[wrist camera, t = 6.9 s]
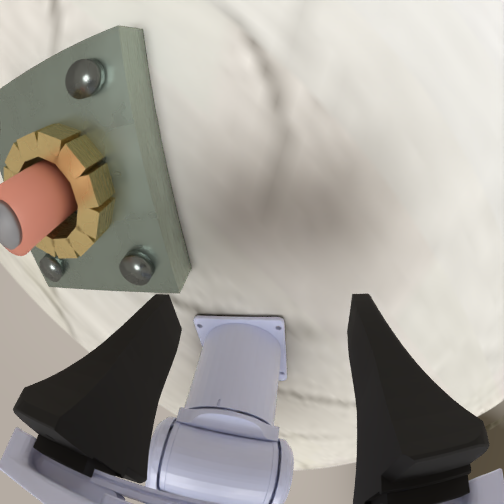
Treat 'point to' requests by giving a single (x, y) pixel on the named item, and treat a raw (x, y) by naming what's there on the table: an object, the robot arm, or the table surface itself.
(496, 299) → the table surface
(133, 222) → the metal plate with ring
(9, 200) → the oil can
